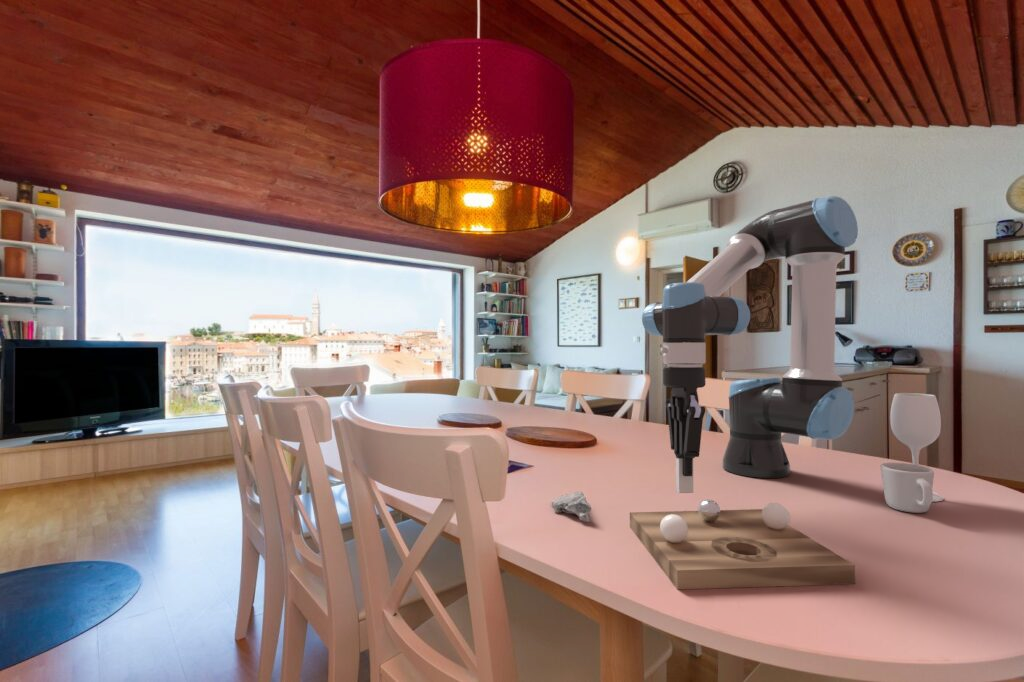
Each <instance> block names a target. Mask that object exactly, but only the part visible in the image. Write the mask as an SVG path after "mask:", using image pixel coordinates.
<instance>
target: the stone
mask: <svg viewBox="0 0 1024 682" xmlns="http://www.w3.org/2000/svg"><path fill="white" fill-rule="evenodd" d="M550 503H552V505H551V506H552V507H553V508H554V513H555V514H560V513H562V512H563V513H566V514H571V515H573V514H574V515H575V516H577V518H579V519H578V520H580V521H582V522H586V523H590V522H591V520H590V516H589V514H591V510H592V506H591V504H590V503H589V502H588V501H587V499H586V496H585V494H584V493H583V491H576V492H572V493H569V494H568V493H566V494H562V495H561V496H559V497H557V498H554V499H552V500H551V501H550Z"/></svg>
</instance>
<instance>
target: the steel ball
mask: <svg viewBox="0 0 1024 682" xmlns="http://www.w3.org/2000/svg"><path fill="white" fill-rule="evenodd" d="M720 510H721V508H720V506H719V504H718V503H717V502H716V501H714V500H713V499H703V500H702V501H700V502H699V504H698V506H697V511H698V513H699V515H700V517H701V518H702V519H704V520H705V521H709V522H713V521H716V520H717V519H718V518H719V516H720V512H721V511H720Z"/></svg>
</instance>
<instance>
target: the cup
mask: <svg viewBox="0 0 1024 682" xmlns="http://www.w3.org/2000/svg"><path fill="white" fill-rule="evenodd" d="M880 472H881V479H882V486H883V494H884V501H885V502H886V505H887V506H889V507H890V508H892V509H894V510H897V511H901V512H905V513H912V514H922V513H926V512H928V511H929V509H930V507H931V505H932V499H933V492H934V491H933V485H934V477H935V472H934V470H933V469H932V468H930V467H927V466H923V465H914V464H913V463H906V462H905V463H904V462H883V463H881V464H880Z"/></svg>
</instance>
